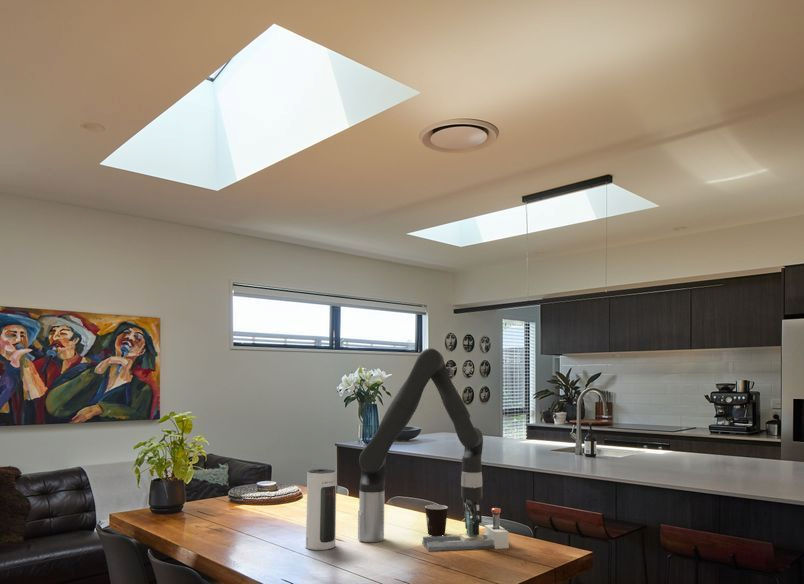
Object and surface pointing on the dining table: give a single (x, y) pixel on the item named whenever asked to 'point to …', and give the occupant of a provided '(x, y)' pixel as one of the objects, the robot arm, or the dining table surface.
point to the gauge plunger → (496, 518)
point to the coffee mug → (436, 519)
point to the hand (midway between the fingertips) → (472, 531)
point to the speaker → (321, 509)
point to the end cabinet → (498, 536)
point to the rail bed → (456, 543)
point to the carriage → (470, 531)
